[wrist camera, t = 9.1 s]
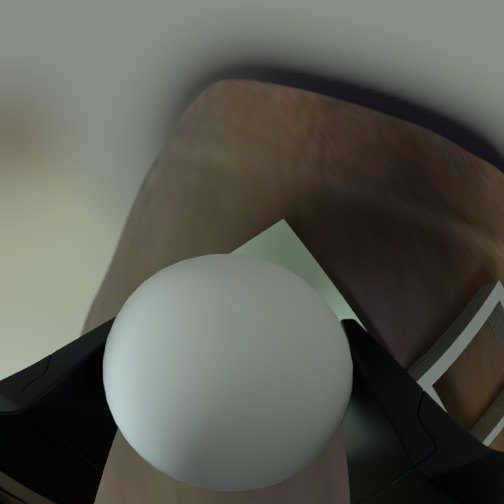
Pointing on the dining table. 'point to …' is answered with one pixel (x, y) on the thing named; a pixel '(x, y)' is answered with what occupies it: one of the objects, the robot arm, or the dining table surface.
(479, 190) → the dining table surface
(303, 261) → the green mat
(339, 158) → the dining table surface
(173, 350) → the lightbulb
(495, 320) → the grey square frame
